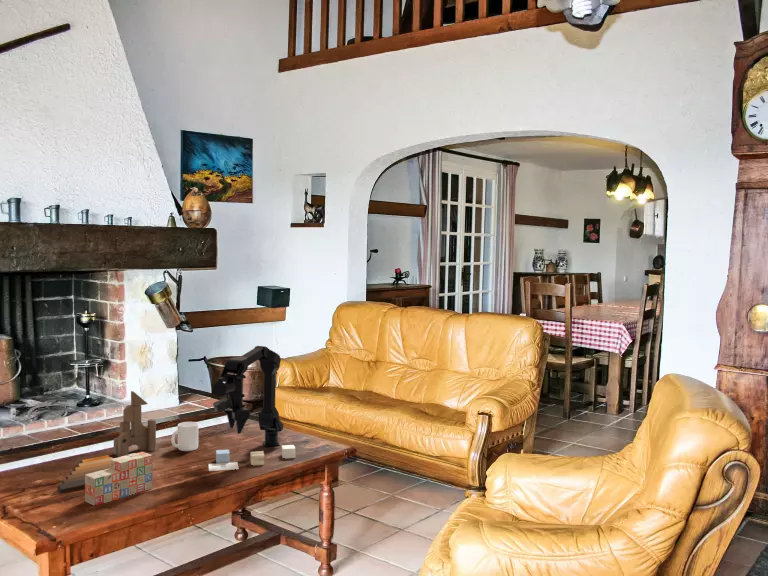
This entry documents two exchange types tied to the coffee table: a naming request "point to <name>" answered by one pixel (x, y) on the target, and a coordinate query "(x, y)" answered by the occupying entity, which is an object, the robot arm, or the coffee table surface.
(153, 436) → the wooden toy
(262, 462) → the beech brick
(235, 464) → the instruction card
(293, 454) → the cream brick
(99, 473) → the stack of blocks
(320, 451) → the coffee table surface
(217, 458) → the blue brick
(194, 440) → the mug
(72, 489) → the pan flute
